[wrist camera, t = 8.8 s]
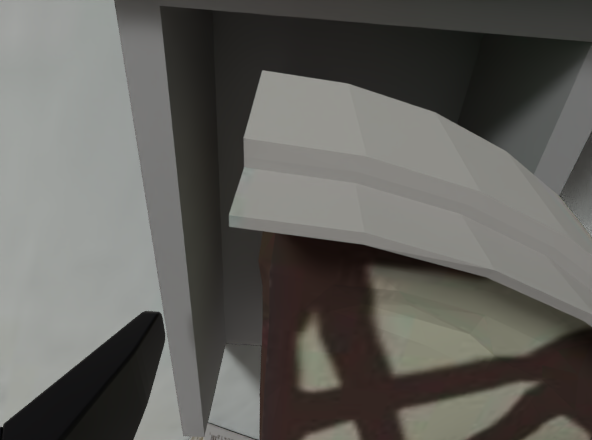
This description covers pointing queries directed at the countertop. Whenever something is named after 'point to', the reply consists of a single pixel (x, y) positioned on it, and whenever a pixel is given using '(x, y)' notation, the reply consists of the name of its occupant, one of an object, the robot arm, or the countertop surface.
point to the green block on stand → (333, 67)
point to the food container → (409, 275)
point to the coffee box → (220, 434)
